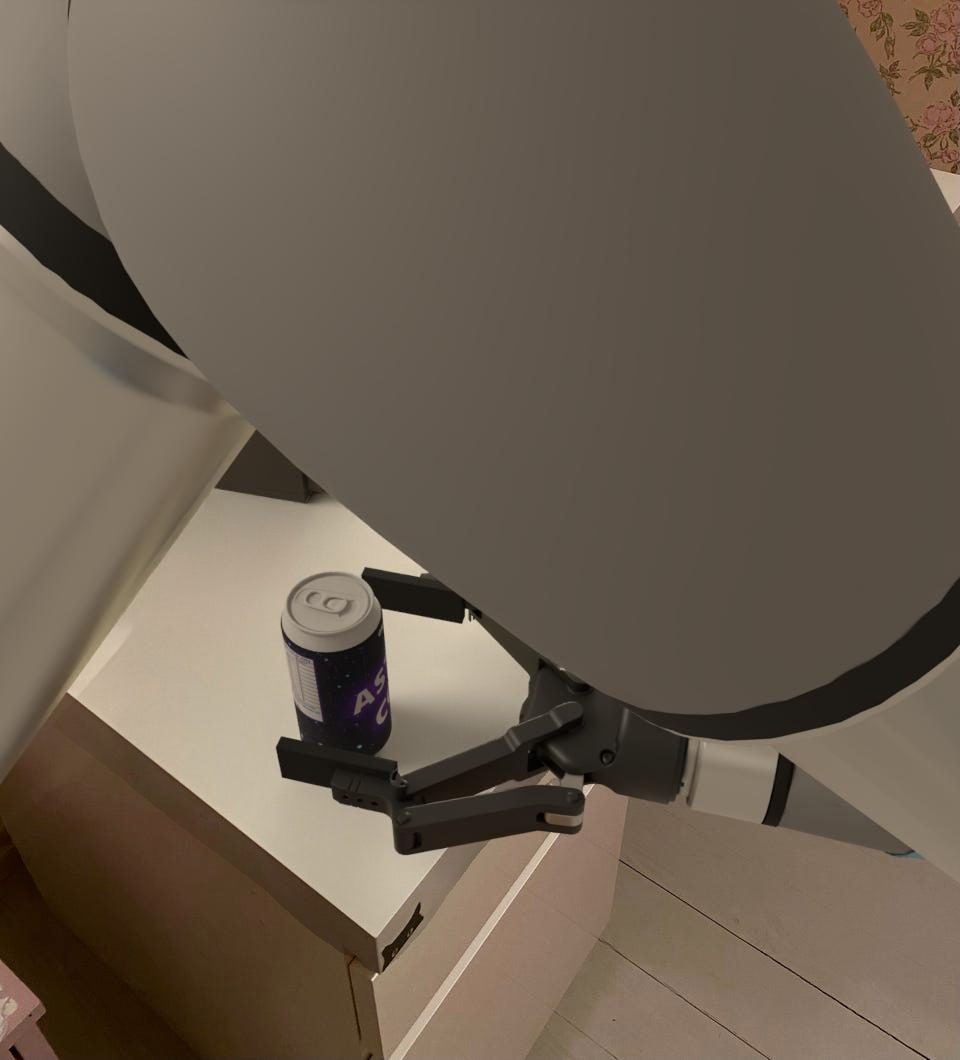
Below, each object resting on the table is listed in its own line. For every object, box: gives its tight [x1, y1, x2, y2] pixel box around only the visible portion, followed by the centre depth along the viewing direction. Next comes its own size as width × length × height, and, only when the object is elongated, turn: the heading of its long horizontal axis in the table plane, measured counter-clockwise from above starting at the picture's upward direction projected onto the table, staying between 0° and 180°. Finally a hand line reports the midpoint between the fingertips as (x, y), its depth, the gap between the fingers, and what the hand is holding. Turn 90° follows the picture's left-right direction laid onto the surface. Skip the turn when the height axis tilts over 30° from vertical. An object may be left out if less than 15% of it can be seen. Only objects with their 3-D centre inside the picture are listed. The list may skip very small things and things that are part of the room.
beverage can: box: [280, 570, 393, 756], centre depth 61 cm, size 6×6×12 cm
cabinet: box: [213, 429, 313, 504], centre depth 85 cm, size 14×13×10 cm
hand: (325, 664), depth 61 cm, fingers open, 13 cm apart
